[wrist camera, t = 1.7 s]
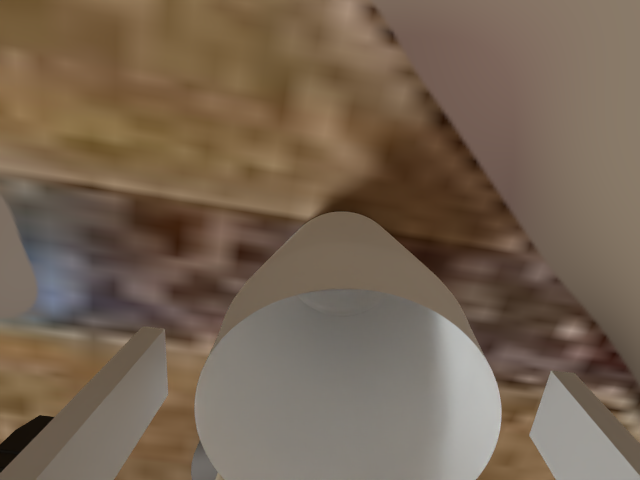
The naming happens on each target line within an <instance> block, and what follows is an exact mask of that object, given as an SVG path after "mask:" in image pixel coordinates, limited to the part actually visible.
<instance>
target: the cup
mask: <svg viewBox="0 0 640 480" xmlns="http://www.w3.org/2000/svg"><path fill="white" fill-rule="evenodd" d="M195 421H196V426H197V431H198V435H199V438H200V441H201V444H202V446H203V448H204V450H205V453H206V455H207V456H208V458H209V460H210V462H211V463H212V465H213V466H214V467H215V469H216V470H217V472H218V473H219V474H220V475H221V477H222V478H223V479H224V480H476V479H477V478H478V476H479V475H480V474H481V472H482V471H483V469H484V468H485V467H486V465H487V463H488V461H489V459H490V458H491V456H492V453H493V451H494V449H495V446H496V443H497V440H498V436H499V432H500V425H501V401H500V394H499V390H498V386H497V382H496V380H495V377H494V375H493V372H492V370H491V368H490V366H489V364H488V362H487V360H486V358H485V356H484V354H483V352H482V350H481V348H480V346H479V344H478V342H477V340H476V338H475V336H474V334H473V332H472V330H471V328H470V325H469V323H468V321H467V319H466V316H465V314H464V312H463V310H462V309H461V307H460V305H459V303H458V302H457V300H456V299H455V297H454V296H453V294H452V293H451V292H450V291H449V290H448V288H447V287H446V286H445V285H444V284H443V283H442V281H441V280H440V279H439V278H438V277H437V276H436V275H435V274H434V273H432V272H431V271H430V270H429V269H428V268H427V267H426V266H425V265H424V264H423V263H422V262H420V261H419V260H418V259H417V258H416V257H415V256H414V255H413V254H412V253H410V252H409V251H408V250H407V249H406V248H405V247H404V246H403V245H401V244H400V243H399V242H398V241H397V240H396V239H395V238H394V237H392V236H391V235H390V234H389V233H388V232H387V231H386V230H385V229H383V228H382V227H381V226H380V225H379V224H378V223H376V222H375V221H373V220H372V219H370V218H368V217H366V216H363V215H360V214H357V213H353V212H343V211H341V212H330V213H326V214H323V215H320V216H318V217H315V218H313V219H312V220H310V221H308V222H307V223H306V224H304V225H303V226H302V227H301V228H300V229H299V230H298V231H297V232H296V233H295V234H294V235H293V236H292V237H291V238H290V239H289V240H288V241H287V242H286V243H285V244H284V245H283V246H282V247H281V248H280V249H279V250H278V251H277V252H276V253H275V254H274V255H273V256H272V257H271V258H270V259H269V260H268V261H267V262H266V263H265V264H264V265H263V266H262V267H261V268H260V269H259V270H258V271H257V272H256V273H255V274H254V275H253V276H252V277H251V278H250V279H249V280H248V281H247V282H246V283H245V285H244V286H243V287H242V289H241V290H240V291H239V293H238V294H237V295H236V297H235V298H234V300H233V301H232V303H231V305H230V306H229V308H228V311H227V313H226V315H225V317H224V320H223V323H222V326H221V329H220V332H219V334H218V337H217V339H216V341H215V343H214V346H213V348H212V350H211V352H210V354H209V356H208V358H207V361H206V363H205V365H204V367H203V369H202V372H201V374H200V377H199V381H198V384H197V389H196V395H195Z"/></svg>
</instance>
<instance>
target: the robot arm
mask: <svg viewBox="0 0 640 480" xmlns="http://www.w3.org/2000/svg"><path fill="white" fill-rule="evenodd" d="M167 395H168V383H167V363H166V343H165V329H161V328H152V327H142V328H141V329H140V330H139V331H138V332H137V333H136V334H135V335H134V336H133V337H132V338H131V339H130V340H129V341H128V342H127V343H126V344H125V345H124V346H123V347H122V349H121V350H120V351H119V352H118V353H117V354H116V355H115V356H114V357H113V358H112V359H111V360H110V361H109V362H108V363H107V364H106V365H105V366H104V367H103V368H102V369H101V370H100V371H99V372H98V373H97V374H96V375H95V376H94V377H93V378H92V379H91V380H90V381H89V382H88V383H87V384H86V386H85V387H84V388H83V389H82V390H81V391H80V392H79V393H78V394H77V395H76V396H75V397H74V398H73V399H72V400H71V401H70V402H69V403H68V404H67V405H66V406H65V407H64V408H63V409H62V410H61V411H60V412H59V413H58V414H57V415H56V416H55V417H50V416H41V415H40V416H38V417H36V418H35V419H33V420H31V421H30V422H28V423H26V424H25V425H23V426H22V427H20V428H18V429H17V430H15V431H14V432H13V433H12V434H11V435H10V436H9V437H8V438H7V439H6V440H5V441H4V442H2V443H1V444H0V480H114V478H115V477H116V475H117V474H118V472H119V471H120V469H121V467H122V466H123V464H124V463H125V461H126V460H127V458H128V457H129V455H130V453H131V452H132V450H133V449H134V447H135V446H136V444H137V442H138V441H139V439H140V438H141V436H142V435H143V433H144V431H145V430H146V428H147V427H148V425H149V424H150V422H151V420H152V419H153V417H154V416H155V414H156V413H157V411H158V409H159V408H160V406H161V405H162V403H163V402H164V400H165V399H166V397H167ZM530 437H531V439H532V440H533V442H534V444H535V445H536V447H537V449H538V450H539V452H540V454H541V455H542V457H543V459H544V460H545V462H546V464H547V465H548V467H549V469H550V470H551V472H552V474H553V475H554V477H555V479H556V480H640V443H639V442H638V441H637V440H636V439H635V438H634V437H633V436H632V435H631V434H630V433H629V432H628V430H627V429H626V428H625V427H624V426H623V425H622V424H621V423H620V422H619V421H618V420H617V419H616V418H615V416H614V415H613V414H612V413H611V412H610V411H609V410H608V409H607V408H606V407H605V406H604V405H603V403H602V402H601V401H600V400H599V399H598V398H597V397H596V396H595V395H594V394H593V393H592V392H591V391H590V389H589V388H588V387H587V386H586V385H585V384H584V383H583V382H582V381H581V380H580V379H579V378H578V377H577V375H576V374H575V373H568V372H559V371H551V373H550V376H549V379H548V381H547V384H546V387H545V390H544V393H543V396H542V399H541V402H540V405H539V408H538V411H537V414H536V417H535V420H534V423H533V426H532V429H531V432H530Z"/></svg>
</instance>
